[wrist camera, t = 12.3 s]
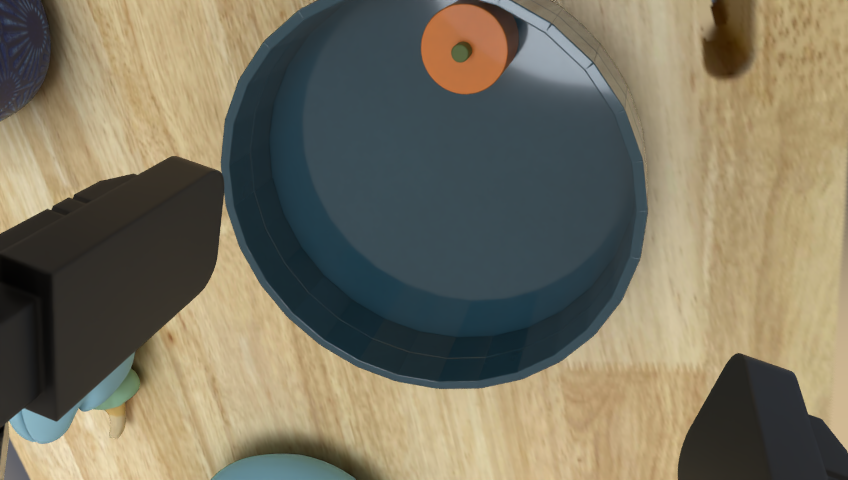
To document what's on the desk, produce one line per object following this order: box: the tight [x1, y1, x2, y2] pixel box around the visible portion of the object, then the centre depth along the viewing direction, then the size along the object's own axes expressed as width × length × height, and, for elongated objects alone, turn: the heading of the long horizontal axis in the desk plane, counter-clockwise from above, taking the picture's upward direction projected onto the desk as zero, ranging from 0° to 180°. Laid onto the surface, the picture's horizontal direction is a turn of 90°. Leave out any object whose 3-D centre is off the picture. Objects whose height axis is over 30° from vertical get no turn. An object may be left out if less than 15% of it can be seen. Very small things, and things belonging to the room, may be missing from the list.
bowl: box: [221, 0, 648, 389], centre depth 36 cm, size 21×21×5 cm
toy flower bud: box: [9, 352, 140, 444], centre depth 48 cm, size 7×9×12 cm
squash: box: [421, 0, 519, 94], centre depth 33 cm, size 4×4×4 cm
